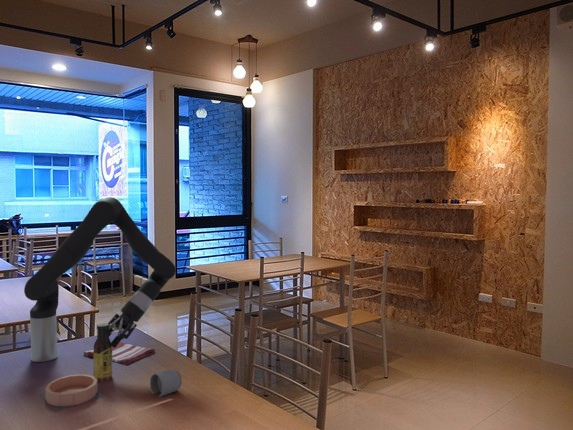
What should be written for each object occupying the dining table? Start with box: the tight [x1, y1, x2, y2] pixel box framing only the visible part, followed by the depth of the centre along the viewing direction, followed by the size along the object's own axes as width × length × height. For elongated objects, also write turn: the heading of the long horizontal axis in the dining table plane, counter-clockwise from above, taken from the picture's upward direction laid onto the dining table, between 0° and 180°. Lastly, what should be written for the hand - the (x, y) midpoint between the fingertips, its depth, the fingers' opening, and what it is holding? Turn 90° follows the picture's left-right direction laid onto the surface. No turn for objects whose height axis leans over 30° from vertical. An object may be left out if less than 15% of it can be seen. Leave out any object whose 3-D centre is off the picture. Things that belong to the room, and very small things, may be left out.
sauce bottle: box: [92, 322, 113, 383], centre depth 168 cm, size 6×6×20 cm
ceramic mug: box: [149, 369, 182, 398], centre depth 159 cm, size 11×8×8 cm
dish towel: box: [83, 341, 156, 366], centre depth 194 cm, size 17×23×3 cm
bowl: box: [44, 373, 99, 407], centre depth 154 cm, size 15×15×4 cm
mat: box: [40, 390, 105, 413], centre depth 154 cm, size 15×15×1 cm
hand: (107, 343), depth 169 cm, fingers open, 8 cm apart
